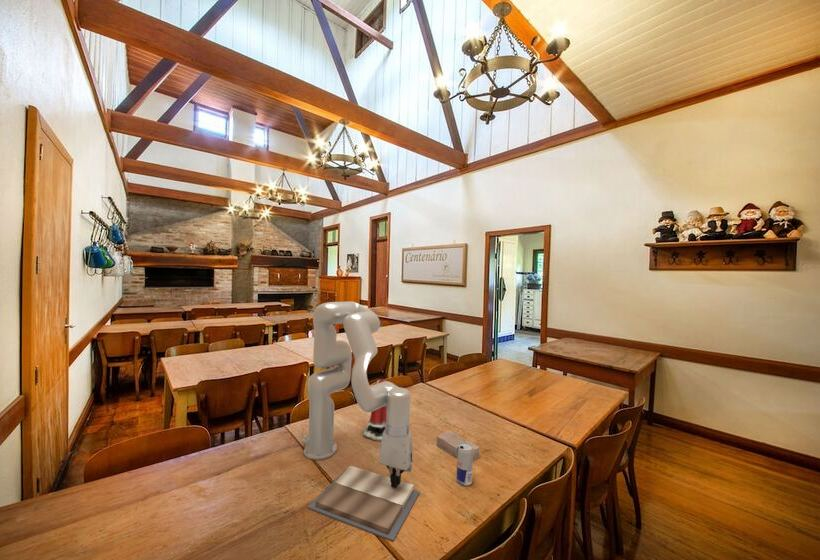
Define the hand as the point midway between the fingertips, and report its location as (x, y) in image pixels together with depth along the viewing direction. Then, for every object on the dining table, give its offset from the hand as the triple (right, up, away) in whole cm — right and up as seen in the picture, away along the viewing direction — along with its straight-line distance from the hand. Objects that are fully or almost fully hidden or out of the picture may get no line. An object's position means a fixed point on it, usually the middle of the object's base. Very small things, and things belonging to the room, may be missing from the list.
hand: (395, 485), depth 97 cm
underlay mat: (-9, -2, -4) cm, 10 cm away
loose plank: (-7, -2, +1) cm, 7 cm away
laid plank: (-11, -2, -8) cm, 13 cm away
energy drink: (+23, -4, +7) cm, 25 cm away
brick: (+24, -4, +26) cm, 36 cm away
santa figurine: (-9, -3, +40) cm, 41 cm away
